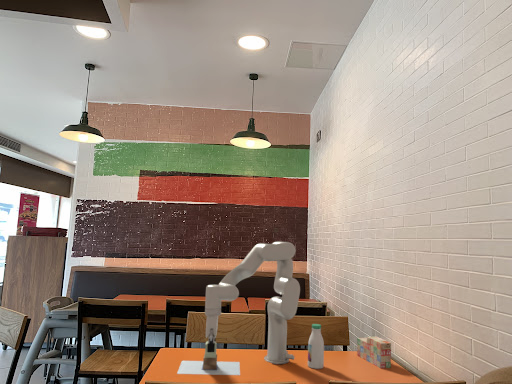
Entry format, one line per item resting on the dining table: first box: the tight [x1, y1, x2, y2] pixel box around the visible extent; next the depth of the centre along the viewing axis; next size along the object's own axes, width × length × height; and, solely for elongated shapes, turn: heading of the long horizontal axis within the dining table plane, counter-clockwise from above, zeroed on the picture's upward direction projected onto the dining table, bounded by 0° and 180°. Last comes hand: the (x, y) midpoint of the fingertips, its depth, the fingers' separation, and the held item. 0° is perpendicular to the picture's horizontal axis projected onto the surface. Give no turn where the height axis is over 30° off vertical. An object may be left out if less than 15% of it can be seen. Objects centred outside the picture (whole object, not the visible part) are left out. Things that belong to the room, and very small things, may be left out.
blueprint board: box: [176, 360, 241, 376], centre depth 182 cm, size 28×18×1 cm, turn 93°
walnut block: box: [202, 353, 218, 370], centre depth 182 cm, size 6×6×5 cm
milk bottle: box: [307, 323, 325, 370], centre depth 192 cm, size 8×8×20 cm
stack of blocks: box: [356, 336, 392, 369], centre depth 204 cm, size 21×6×12 cm, turn 18°
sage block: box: [204, 340, 218, 358], centre depth 182 cm, size 5×5×6 cm
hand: (211, 348), depth 183 cm, fingers open, 9 cm apart
